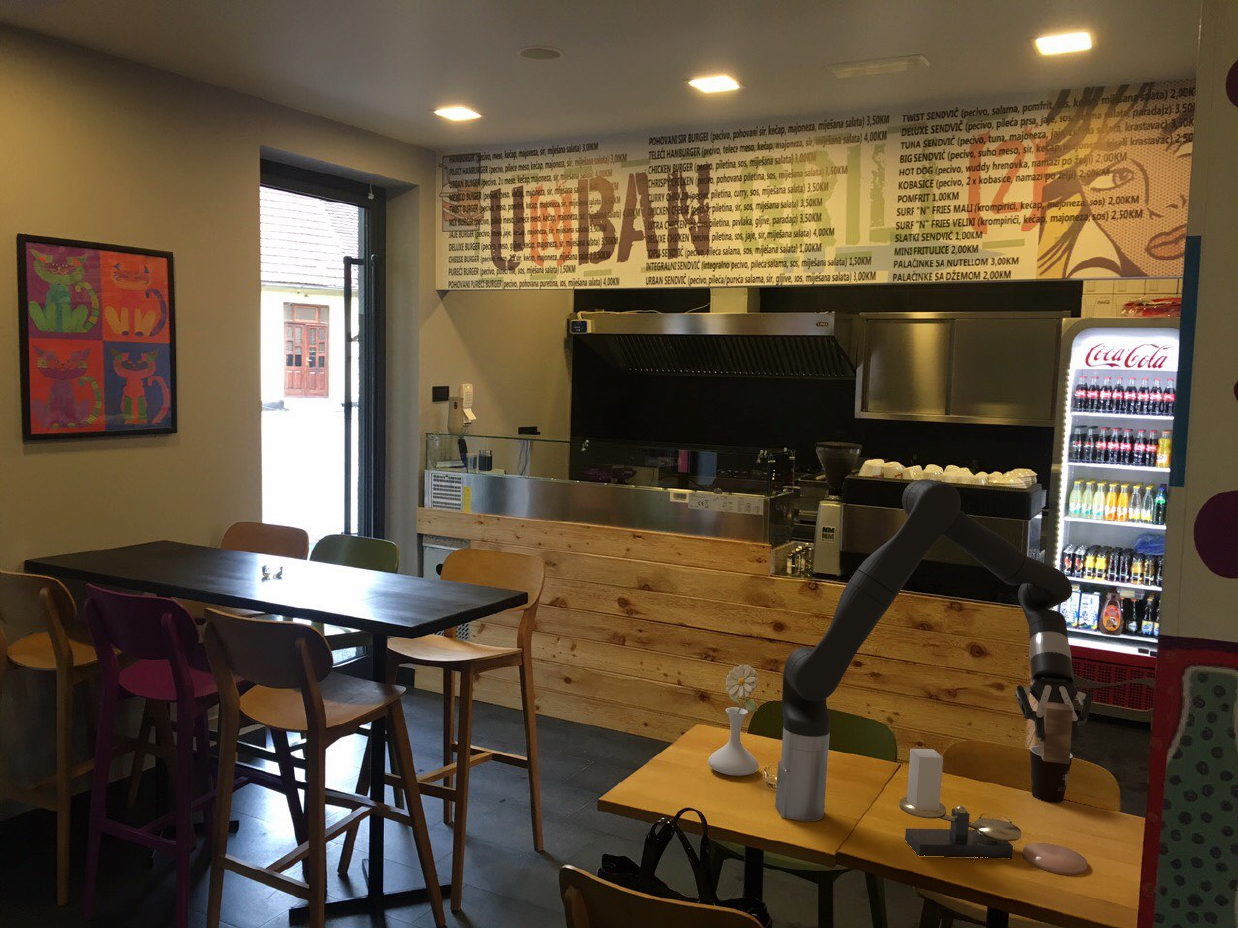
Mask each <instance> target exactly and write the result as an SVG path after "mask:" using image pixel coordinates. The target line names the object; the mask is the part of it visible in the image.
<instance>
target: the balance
mask: <svg viewBox="0 0 1238 928" xmlns="http://www.w3.org/2000/svg"><path fill="white" fill-rule="evenodd" d="M899 808H900V810H901V811H903V812H905V814H908V815H910V816H914V817H918V818H922V819H932V820H935V819H940V820H944V821H948V822H950V828H948V829H947V828H945V829H944V828H910V827H909V828H908V827H907V828H906V827H905V836H904V841H905V840H906V841H907V843H908V844H909V845H910V846H911V847H912V849H913V850H914V851H915V852H916V854H917V855H919V856H924V855H925V856H944V857H974V858H973V859H975V857H978V858H980V857H983V858H985V857H986V858H987V857H988V858H1010V859H1009V860H1012V859H1013V853H1014V852H1013V851H1014V845H1013V844H1012V843H1011V842H1016V841H1019V840H1021V837H1022V829H1020V828H1019V827H1018V826H1017V825H1016V824H1013V823H1011V822H1008V821H1005V820H1002V819H997V818H988V817H987V818H980V819H976V820H975V821H974V822H972V821H970V812H968V811H967V809H966V808H965V806H963V805H957V806H956V807H955V808H951V815H950V814H949V815H948V814H947V808H946V805H944V804H943V803H941V802H940V806H939V810H915V808H914V807H913V806H912V805H911V804H910V803H909V802H908V801H907V796H906V797H905V796H904V797H902V798H901V799H899ZM969 828H970V829H969ZM907 843H906V844H907ZM908 844H907V845H908ZM909 845H908V846H909ZM912 849H911V850H912ZM913 850H912V851H913ZM914 851H913V852H914ZM915 852H914V853H915ZM916 854H915V855H916ZM917 855H916V856H917Z"/></svg>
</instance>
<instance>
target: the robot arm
mask: <svg viewBox="0 0 1238 928" xmlns="http://www.w3.org/2000/svg"><path fill="white" fill-rule="evenodd" d="M901 503H902V508H903V510H904V512H905V513H906V515H907V518H906V519H905V521H904V523H903V524H902V525H901V527H900V528H899V530H898V531H897V532H896V533H895V534H894V535H893V536H891V538H890V539H889V540H887V541H886V542H885V543H883V545H881V546H880V547H878V549H877V550H875V551H874V552H872V553H871V554H870V555H869V556H868V557H867V558H866V559H865V560H864V561H863V562H862V563H861V564H860V565H859V567H857V569H856V570H855V572H854V574H853V575H852V576H851V578H850V579H849V581H848V582H847V584H846V585H845V587H844V588H843V590H842V592H841V595H840V598H839V600H838V603H837V605H836V609H835V611H834V615H833V617H832V620H831V623H830V625H829V627H828V629H827V631H826V632H825V634H824V635H823V637H822V638H821V639H820V641H819V642H818V643H817V645H816V646H815V647H814V648H812V647H808V646H806V647H800V648H796V649H795V650H794V651H792V652H791V653H790V654H789V655H788V657H787V659H786V660H785V664H784V668H783V672H782V673H783V674H782V693H781V694H782V696H781V709H782V711H781V712H782V717H783V727H782V742H781V759H780V760H778V762H777V773H776V784H775V785H776V787H775V801H774V802H775V803H774V806H775V809H776V810H777V811H778V813H779V815H780V816H781V818H783V819H791V820H793V821H794V820H795V821H799V822H816V821H819V820H822V819H823V818H824V815H825V807H826V806H825V805H826V804H825V803H826V792H827V791H826V790H827V777H828V760H829V759H828V758H829V747H830V733H831V732H830V731H831V719H830V715H829V711H828V705H827V699H828V698H830V696H831V695H833V693H834V692H835V691H836V689H837V688H838V686H839V685H840V683H841V681H842V679H843V677H844V675H845V673H846V672H847V670H848V668H849V666H850V664H851V663H852V661H853V659H854V657H855V656H856V654H857V652H859V649H860V648H861V646H862V645H863V643H864V642H865V641H866V640H867V638H868V637H869V636H870V634H871V633H872V631H873V630H874V629H875V627H876V626H877V624H878V623H879V621H880V620H881V619H882V617H884V615H885V613H886V612H887V611H888V609H889V608H890V607H891V605H892V603H893V602H894V601H895V600H896V598H897V597H898V595H899V593H900V592H901V590H902V589H903V587H904V586H905V585H906V583H907V581H908V580H909V579H910V577H912V575H913V573H914V571H916V569H917V568H918V566H919V564H920V563H921V561H922V560H923V558H924V557H925V555H926V554H927V553H928V552H929V550H931V548H932V547H933V546H934V545H935V544H936V542H937V541H938V540H939V539H940V538H941V537H942V536H943V537H945V538H946V539H948V540H949V541H951V542H952V543H954V544H955V545H956V546H958V547H960V549H962V550H963V551H964V552H966V553H967V554H968V555H970V556H971V557H972V558H973V559H974V560H976V561H977V562H978V563H979V564H980V565H982V566H983V567H984V568H985V569H987V570H988V571H989V572H991V573H992V574H993V575H995V576H996V577H997V578H999V579H1000V580H1001V581H1002V582H1004V583H1005V584H1006V585H1009V586H1019V585H1020V586H1019V589H1018V591H1017V597H1018V601H1019V604H1020V607H1021V609H1022V611H1023V613H1024V616H1025V619H1026V622H1027V624H1028V632H1029V633H1028V634H1029V649H1028V650H1029V656H1028V658H1029V659H1028V660H1029V666H1030V677H1031V683H1030V685H1029V686H1025V687H1024V686H1022V685H1021V684H1020V685H1017V686H1016V690H1015V693H1014V694H1015V697H1016V700H1017V702H1018V705H1019V708H1020V710H1021V712H1022V716H1023V717H1024V719H1025V720H1031V721H1033V722H1034V728H1035V737H1036V739H1037V738H1038V739H1039V742H1040V741H1044V739H1045V737H1046V734H1045V727H1044V719H1043V714H1044V713H1043V702H1055V703H1064V704H1067V705H1069V706H1070V707H1071V709H1072V710H1073V717H1072V733H1071V746H1072V745H1073V746H1074V745H1075V743H1077V741H1078V739H1079V726H1080V725H1081V726H1084V725H1086V723H1087V720H1088V718H1089V714H1090V710H1091V706H1092V701H1093V697H1094V695H1093V693H1092V692H1090V691H1088V692H1086V693H1085V692H1081V691H1078V688H1077V687H1076V685H1075V679H1074V671H1073V660H1072V652H1071V651H1072V650H1071V647H1070V644H1069V636H1068V627H1067V626H1068V625H1067V619H1065V618H1066V617H1065V616H1064V615H1063V614H1062V613H1061V612H1060V611H1058V610H1055V609H1052V608H1054V607H1057V606H1059V605H1061V604H1063V603H1065V602H1067V601H1068V600H1069V599H1071V597H1072V595H1073V585H1072V582H1071V580H1070V579H1069V577H1067V575H1066V574H1065V572H1063V571H1061V570H1059V569H1058V568H1057V567H1054V566H1052V565H1050V564H1047V563H1045V562H1043V561H1040V560H1038V559H1035V558H1033V557H1030V556H1028V555H1026V554H1025V553H1024V552H1023V551H1021V550H1020V549H1019V548H1017V547H1016V546H1015V545H1014V544H1013V543H1011V542H1010V541H1008V540H1007V539H1005V537H1003V536H1001V535H999V534H998V533H997V532H995V531H993V530H992V529H989V528H988V527H986V526H984V524H980V523H979V522H978V521H976V520H975V519H973V518H972V517H970V516H969V515H968V514H967V513H965V512H964V511H962V509H961V507H962V506H961V505H962V500H961V495H960V493H959V491H958V490H957V488H956V487H955V486H953V485H951V484H950V483H947V482H944V481H939V480H936V479H935V480H934V479H928V478H925V479H924V478H923V479H917V480H915V481H912V482H911V483H909V484H908V485H907V486H906V487H905V489H904V491H903V493H902V499H901ZM1030 695H1031V696H1033V699H1035V700H1036V701H1037V702H1038V707H1037V709H1036V710H1033V708H1032V705H1031V703H1030V700H1029V697H1030ZM1075 699H1078V703H1079V705H1080V706H1081V709H1080V714H1078V715H1077V713H1076V712H1075V708H1074V705H1073V702H1074V700H1075Z"/></svg>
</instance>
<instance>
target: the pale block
mask: <svg viewBox="0 0 1238 928" xmlns="http://www.w3.org/2000/svg"><path fill="white" fill-rule="evenodd" d="M909 751H910V752H909V753H910V754H909V766H908V776H907V777H908V778H907V779H908V780H907V791H906V793H907V794H906V797H907V801H908V802H909V803H910V804H911V805H912V806H913V807H914V808H915V810H939V806H940V803H941V789H942V777H943V767H944V763H943V762H944V757H943V756H942V755H941V754H940V753H939V752H937V751H936V750H935V749H931V748H910V750H909Z"/></svg>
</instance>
